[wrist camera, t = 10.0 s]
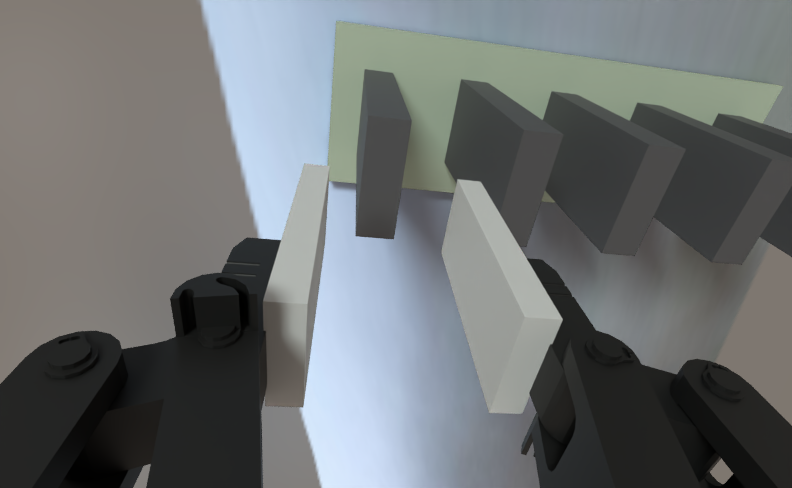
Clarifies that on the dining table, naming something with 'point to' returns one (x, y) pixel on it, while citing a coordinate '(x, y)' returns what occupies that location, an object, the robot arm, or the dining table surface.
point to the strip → (503, 91)
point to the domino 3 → (608, 172)
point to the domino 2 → (502, 153)
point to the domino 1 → (380, 155)
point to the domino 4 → (717, 185)
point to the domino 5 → (788, 223)
